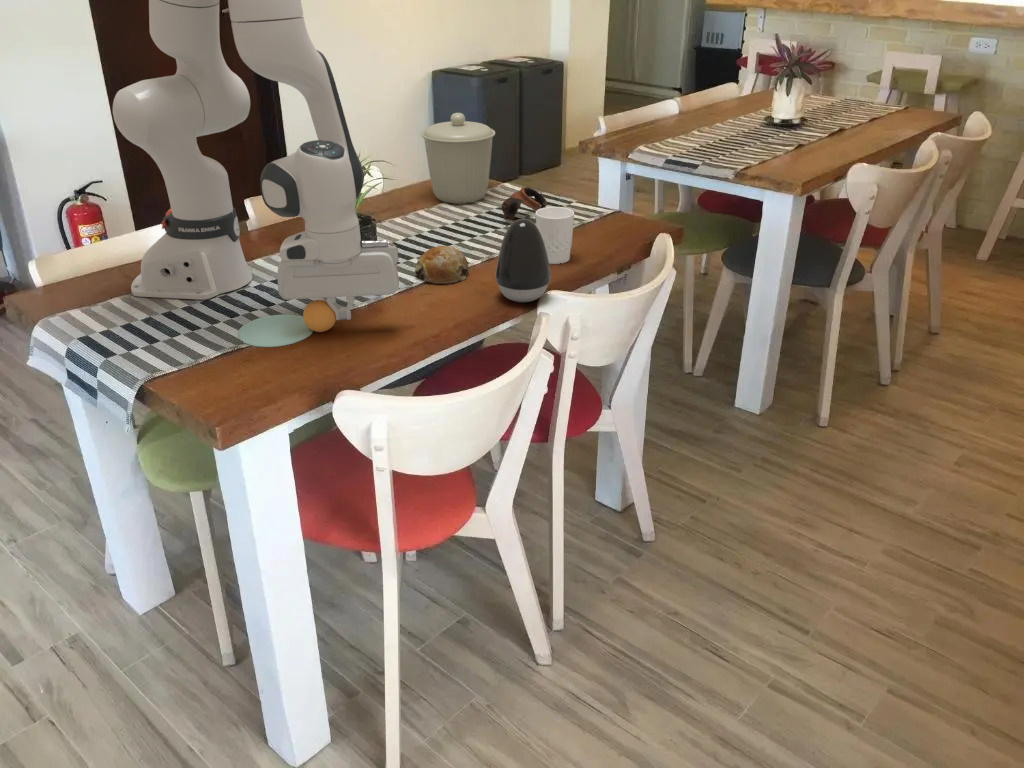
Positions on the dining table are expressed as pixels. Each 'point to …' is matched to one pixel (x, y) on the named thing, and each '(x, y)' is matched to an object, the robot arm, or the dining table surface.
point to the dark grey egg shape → (523, 262)
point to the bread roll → (442, 265)
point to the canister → (459, 159)
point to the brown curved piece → (524, 194)
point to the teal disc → (274, 331)
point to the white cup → (556, 232)
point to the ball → (319, 316)
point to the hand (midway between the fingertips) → (343, 318)
